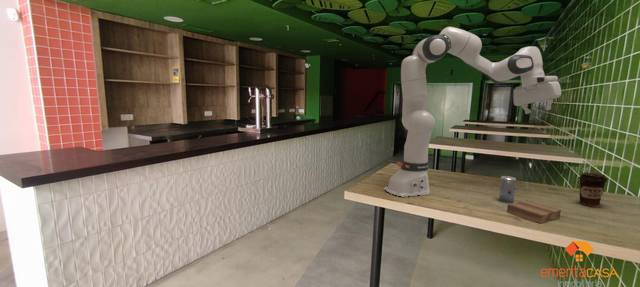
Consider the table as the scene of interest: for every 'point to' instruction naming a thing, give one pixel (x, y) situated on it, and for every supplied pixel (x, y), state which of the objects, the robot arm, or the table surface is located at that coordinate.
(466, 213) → the table surface
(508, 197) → the tin
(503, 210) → the table surface
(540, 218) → the base block
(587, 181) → the coffee cup
